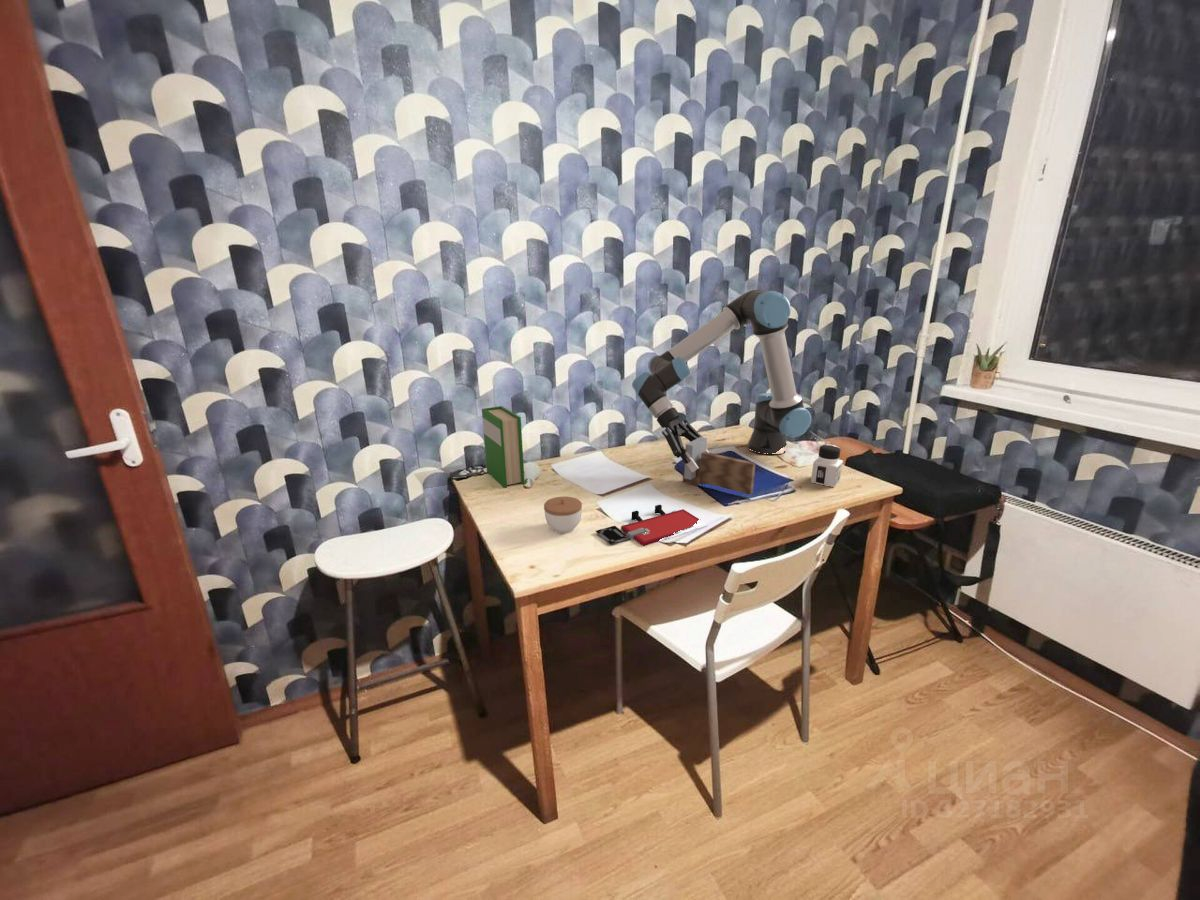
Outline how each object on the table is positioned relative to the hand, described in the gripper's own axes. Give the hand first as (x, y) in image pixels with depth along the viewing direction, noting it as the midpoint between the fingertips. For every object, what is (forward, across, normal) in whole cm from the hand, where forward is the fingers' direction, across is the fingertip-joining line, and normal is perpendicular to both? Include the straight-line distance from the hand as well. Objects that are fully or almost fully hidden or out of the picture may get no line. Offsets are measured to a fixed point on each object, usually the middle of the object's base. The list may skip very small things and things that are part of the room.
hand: (703, 465), depth 179 cm
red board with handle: (+8, +36, -4) cm, 37 cm away
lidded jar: (-7, +51, -18) cm, 55 cm away
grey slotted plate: (+1, 0, -5) cm, 5 cm away
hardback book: (-37, +35, -48) cm, 70 cm away
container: (+28, -29, +17) cm, 44 cm away
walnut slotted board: (+9, 0, -2) cm, 9 cm away
